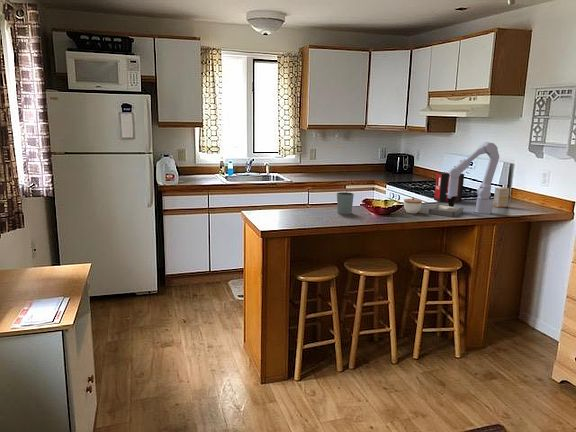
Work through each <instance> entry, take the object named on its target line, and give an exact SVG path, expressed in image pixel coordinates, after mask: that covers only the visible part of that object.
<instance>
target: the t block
mask: <svg viewBox="0 0 576 432" xmlns="http://www.w3.org/2000/svg"><path fill="white" fill-rule="evenodd" d="M438 210H444V211H451V212H454V211H456V210H457V207H456V206H454V207H450V206H449V205H447V206H446V205H442V204H440V206H438Z"/></svg>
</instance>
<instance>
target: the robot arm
mask: <svg viewBox="0 0 576 432" xmlns="http://www.w3.org/2000/svg"><path fill="white" fill-rule="evenodd" d="M484 154H486V155H487V156H488V157H489V159H488V164H487V166H486V170H485V173H484V177H483V179H482V183H481V184H480V185H479V187H478V188H477V190H476V194H477V197H476V205H475V210H474V211H473V213H477V214H485V215H491V213H493V207H494V206H493V203H494V199H490V197H491V196H492V195H491V193H492V192H491V190H492V185H491V184H492V182H493V179H494V176H495V172H496V170H497V166H498V163H499V160H500V153H499V151H498V146H497V145H496V144H495V143H493V142H489V141H485V142H483V144H480V145H479V146H478V147H477V148H476V149H475V150H474V151H473V152H472V153H471V154H470V155H469V156H468V157H467V158H464V159H460V160H459V162H458V163H457V164H455V165H454V166H453V167H452V168H450V169H449V171H448V173H449V175H450V177H449V186H448V193H446V195H448V196H447V200H448V202H447V204H448V206H450V207H455V204H456V202H455V201H456V199H457V197H455V196H457V191H458V181H459V180H458V179H459V176H460V174H461V173H462V174H463V172H464V171H465V170H467V168H468V167H470V164H471V163H472V162H474V160H475V159H477V158H478V157H479V156H481V155H484Z"/></svg>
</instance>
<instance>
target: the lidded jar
mask: <svg viewBox="0 0 576 432" xmlns="http://www.w3.org/2000/svg"><path fill="white" fill-rule="evenodd" d="M403 201H404V202H403V207H404V210H405V211H406V213H408V214H417V213H418V212H420V210H421V208H422V205H423V204H422V203H423V200H422V199H418V198H417V199H416V198H415V197H411V198H404V200H403Z"/></svg>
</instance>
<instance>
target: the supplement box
mask: <svg viewBox="0 0 576 432" xmlns="http://www.w3.org/2000/svg"><path fill="white" fill-rule="evenodd" d="M509 195H510V188H509V187H506V186H505V187H494V195H493V206H492V207H493V208H508V204H509Z"/></svg>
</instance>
